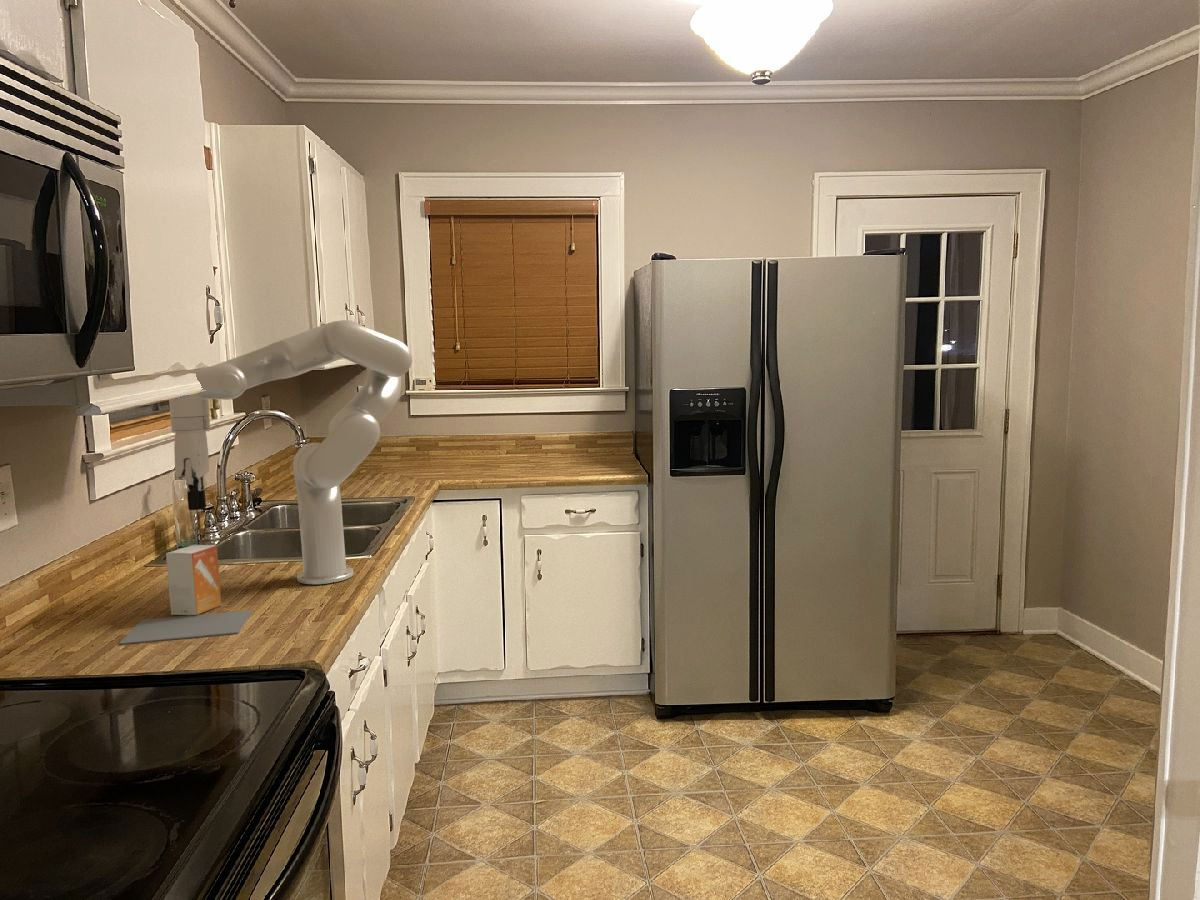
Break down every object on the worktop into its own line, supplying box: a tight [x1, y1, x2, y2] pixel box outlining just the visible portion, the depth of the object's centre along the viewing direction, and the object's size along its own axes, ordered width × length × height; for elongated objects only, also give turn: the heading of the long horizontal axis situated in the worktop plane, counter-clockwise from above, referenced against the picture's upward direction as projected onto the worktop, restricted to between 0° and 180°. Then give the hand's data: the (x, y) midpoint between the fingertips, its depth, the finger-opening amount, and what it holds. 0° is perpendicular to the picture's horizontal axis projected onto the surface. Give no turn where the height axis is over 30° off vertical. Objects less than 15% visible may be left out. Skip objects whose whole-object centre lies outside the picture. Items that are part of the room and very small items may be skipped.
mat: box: [118, 609, 253, 645], centre depth 173 cm, size 14×21×1 cm, turn 101°
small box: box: [165, 544, 222, 616], centre depth 183 cm, size 8×6×13 cm
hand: (197, 508), depth 191 cm, fingers closed
